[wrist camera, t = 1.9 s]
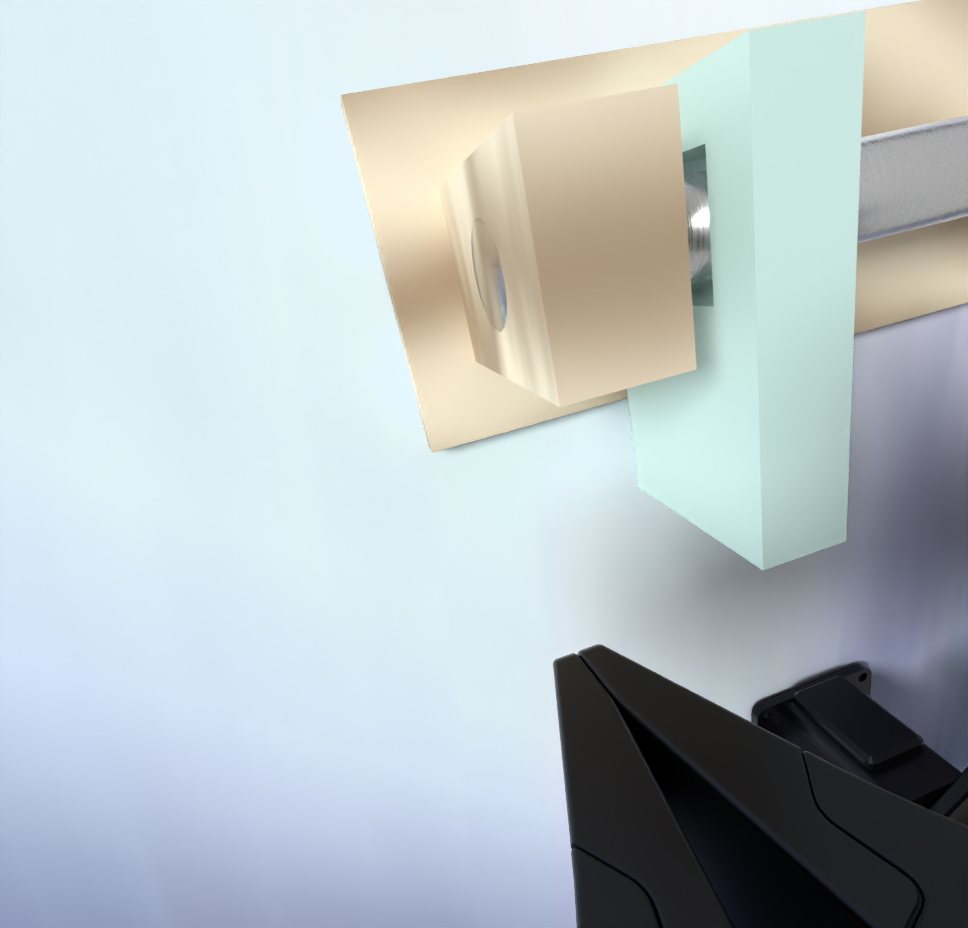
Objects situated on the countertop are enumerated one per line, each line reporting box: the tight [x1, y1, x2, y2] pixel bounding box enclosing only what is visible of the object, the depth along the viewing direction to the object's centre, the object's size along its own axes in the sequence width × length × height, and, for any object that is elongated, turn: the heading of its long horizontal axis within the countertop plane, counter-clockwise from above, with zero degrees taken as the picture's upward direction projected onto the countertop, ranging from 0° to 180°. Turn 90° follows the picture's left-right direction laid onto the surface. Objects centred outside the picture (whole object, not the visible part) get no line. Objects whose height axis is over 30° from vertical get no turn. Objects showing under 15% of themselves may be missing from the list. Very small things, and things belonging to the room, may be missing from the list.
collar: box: [627, 11, 866, 571], centre depth 15 cm, size 11×2×6 cm, turn 12°
